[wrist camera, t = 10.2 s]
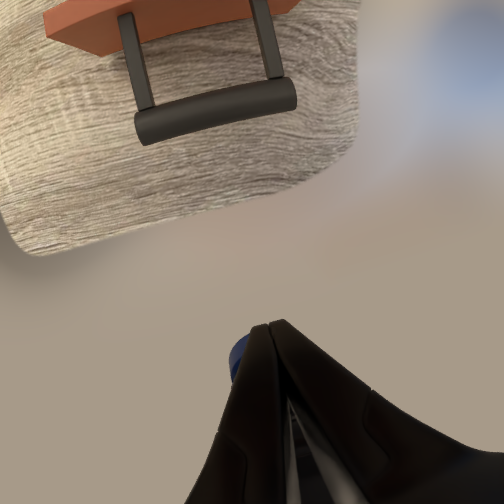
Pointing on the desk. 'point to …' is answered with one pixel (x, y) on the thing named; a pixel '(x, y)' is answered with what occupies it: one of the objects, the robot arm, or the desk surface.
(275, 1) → the drawer
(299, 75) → the desk surface
